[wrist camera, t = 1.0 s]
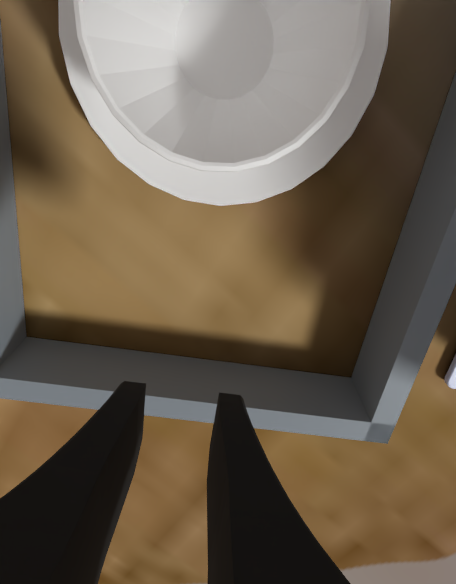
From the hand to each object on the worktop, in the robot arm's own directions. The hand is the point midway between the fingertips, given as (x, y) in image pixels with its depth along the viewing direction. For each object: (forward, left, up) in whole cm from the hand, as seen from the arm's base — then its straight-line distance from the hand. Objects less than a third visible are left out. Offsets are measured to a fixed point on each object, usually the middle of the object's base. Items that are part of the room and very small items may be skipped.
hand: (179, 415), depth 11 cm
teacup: (0, -10, -10) cm, 14 cm away
